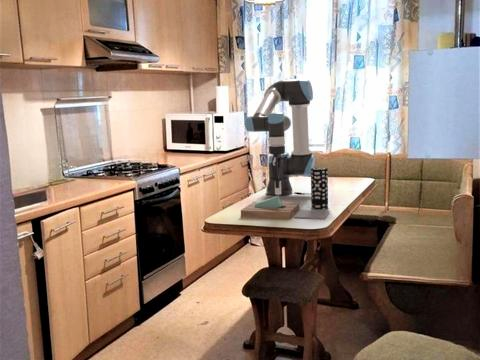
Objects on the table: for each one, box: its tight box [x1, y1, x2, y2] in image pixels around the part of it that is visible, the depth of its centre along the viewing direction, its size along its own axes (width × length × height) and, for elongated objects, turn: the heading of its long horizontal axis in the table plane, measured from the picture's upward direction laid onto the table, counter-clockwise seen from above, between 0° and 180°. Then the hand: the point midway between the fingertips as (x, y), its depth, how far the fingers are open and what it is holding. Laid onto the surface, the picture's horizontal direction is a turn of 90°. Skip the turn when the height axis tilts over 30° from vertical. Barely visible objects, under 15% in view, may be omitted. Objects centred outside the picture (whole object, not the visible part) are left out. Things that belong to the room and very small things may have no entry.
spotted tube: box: [310, 166, 329, 211], centre depth 257 cm, size 8×8×20 cm
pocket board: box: [240, 201, 301, 220], centre depth 250 cm, size 20×24×4 cm
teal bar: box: [255, 195, 283, 208], centre depth 250 cm, size 4×12×5 cm, turn 71°
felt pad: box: [294, 209, 331, 220], centre depth 244 cm, size 14×14×1 cm
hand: (278, 194), depth 248 cm, fingers closed
